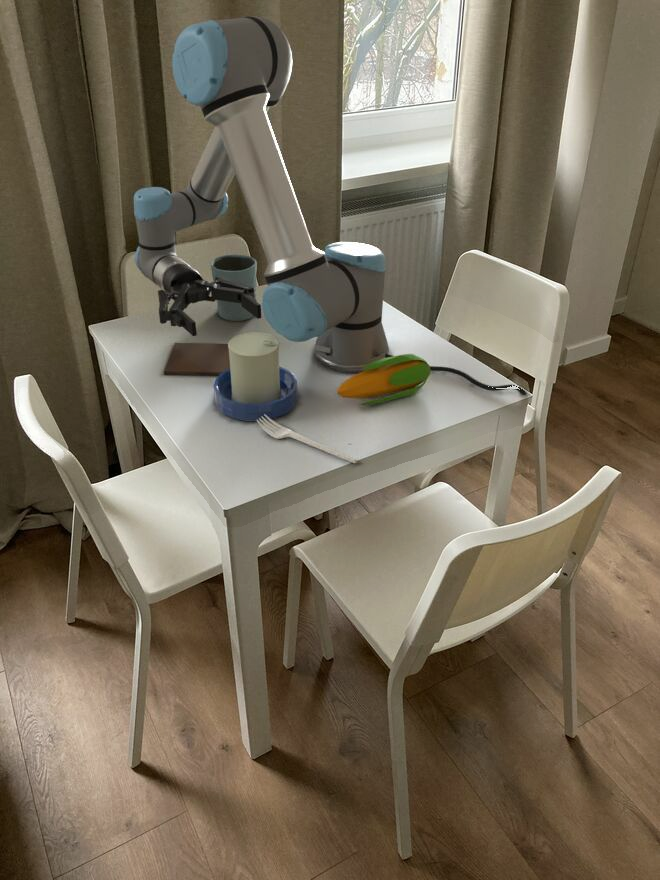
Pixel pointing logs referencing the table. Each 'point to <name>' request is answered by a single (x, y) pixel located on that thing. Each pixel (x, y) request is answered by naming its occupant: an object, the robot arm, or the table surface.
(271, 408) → the bowl
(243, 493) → the table surface
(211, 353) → the board
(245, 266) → the blue cup
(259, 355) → the can
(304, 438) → the fork
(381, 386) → the corn
